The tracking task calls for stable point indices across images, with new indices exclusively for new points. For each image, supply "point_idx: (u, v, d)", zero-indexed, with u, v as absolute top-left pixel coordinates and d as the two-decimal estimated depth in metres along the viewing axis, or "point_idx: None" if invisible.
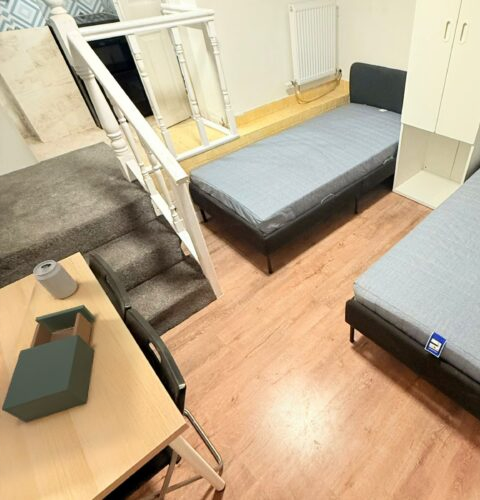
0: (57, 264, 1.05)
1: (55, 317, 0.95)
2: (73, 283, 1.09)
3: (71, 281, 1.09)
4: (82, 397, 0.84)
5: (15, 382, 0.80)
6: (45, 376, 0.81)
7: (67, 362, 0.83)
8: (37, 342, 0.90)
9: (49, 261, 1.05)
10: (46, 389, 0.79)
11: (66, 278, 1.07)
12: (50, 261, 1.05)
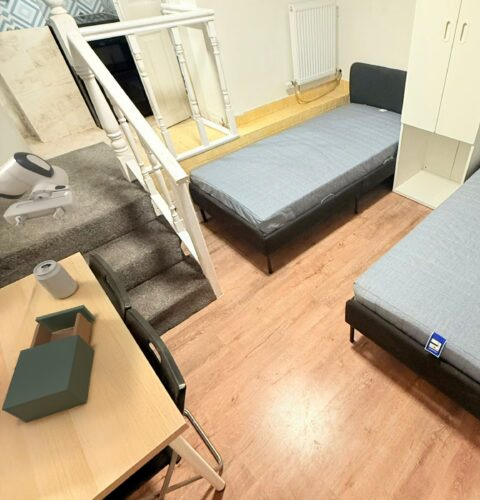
0: (57, 264, 1.05)
1: (55, 317, 0.95)
2: (73, 283, 1.09)
3: (71, 281, 1.09)
4: (82, 397, 0.84)
5: (15, 382, 0.80)
6: (45, 376, 0.81)
7: (67, 362, 0.83)
8: (37, 342, 0.90)
9: (49, 261, 1.05)
10: (46, 389, 0.79)
11: (66, 278, 1.07)
12: (50, 261, 1.05)
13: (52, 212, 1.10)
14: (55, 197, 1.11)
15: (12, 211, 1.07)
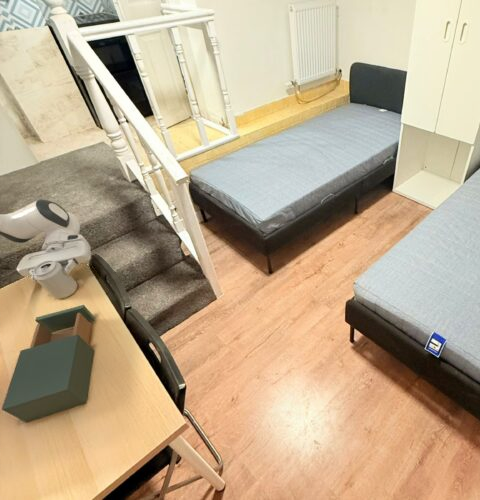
0: (57, 264, 1.05)
1: (55, 317, 0.95)
2: (73, 283, 1.09)
3: (71, 281, 1.09)
4: (82, 397, 0.84)
5: (15, 382, 0.80)
6: (45, 376, 0.81)
7: (67, 362, 0.83)
8: (37, 342, 0.90)
9: (49, 261, 1.05)
10: (46, 389, 0.79)
11: (66, 278, 1.06)
12: (50, 261, 1.05)
13: (65, 263, 1.09)
14: (68, 248, 1.11)
15: (25, 264, 1.06)
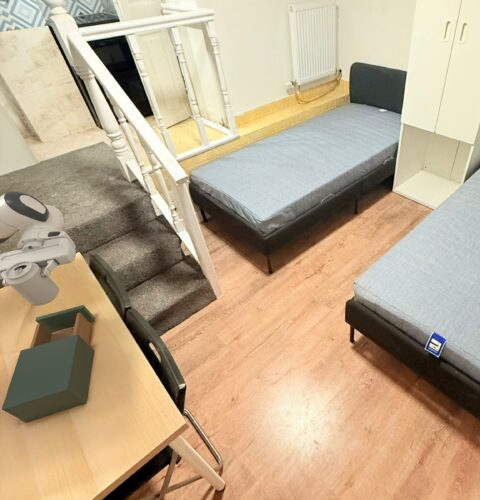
0: (34, 265, 0.89)
1: (55, 317, 0.95)
2: (54, 287, 0.94)
3: (51, 285, 0.93)
4: (82, 397, 0.84)
5: (15, 382, 0.80)
6: (45, 376, 0.81)
7: (67, 362, 0.83)
8: (37, 342, 0.90)
9: (24, 262, 0.89)
10: (46, 389, 0.79)
11: (45, 282, 0.91)
12: (25, 262, 0.89)
13: (44, 265, 0.93)
14: (48, 246, 0.95)
15: None
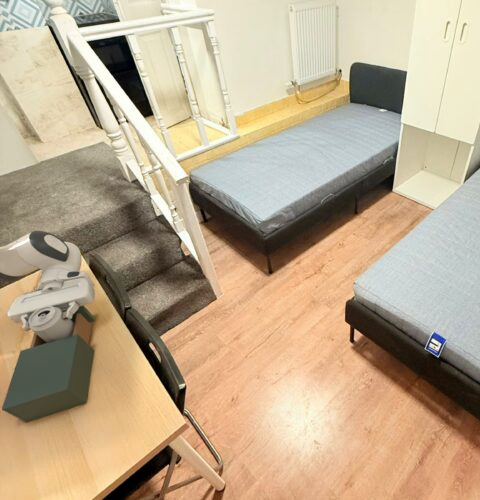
0: (57, 311, 0.89)
1: None
2: None
3: (73, 328, 0.93)
4: (82, 397, 0.84)
5: (15, 382, 0.80)
6: (45, 376, 0.81)
7: (67, 362, 0.83)
8: (37, 342, 0.90)
9: (47, 307, 0.90)
10: (46, 389, 0.79)
11: (67, 326, 0.91)
12: (48, 307, 0.90)
13: (64, 306, 0.94)
14: (67, 287, 0.95)
15: (18, 308, 0.90)
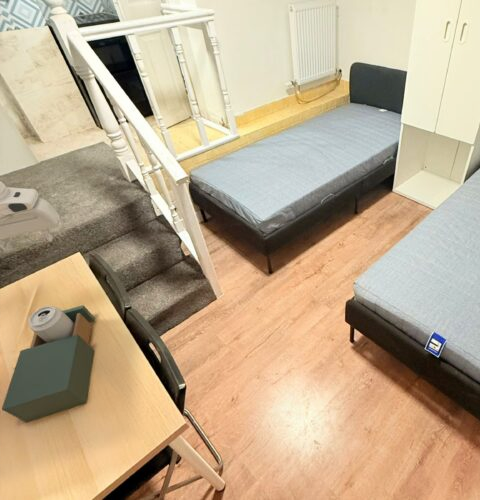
0: (57, 311, 0.89)
1: None
2: None
3: (73, 328, 0.93)
4: (82, 397, 0.84)
5: (15, 382, 0.80)
6: (45, 376, 0.81)
7: (67, 362, 0.83)
8: (37, 342, 0.90)
9: (47, 307, 0.90)
10: (46, 389, 0.79)
11: (67, 326, 0.91)
12: (49, 307, 0.90)
13: None
14: (20, 216, 0.83)
15: None
